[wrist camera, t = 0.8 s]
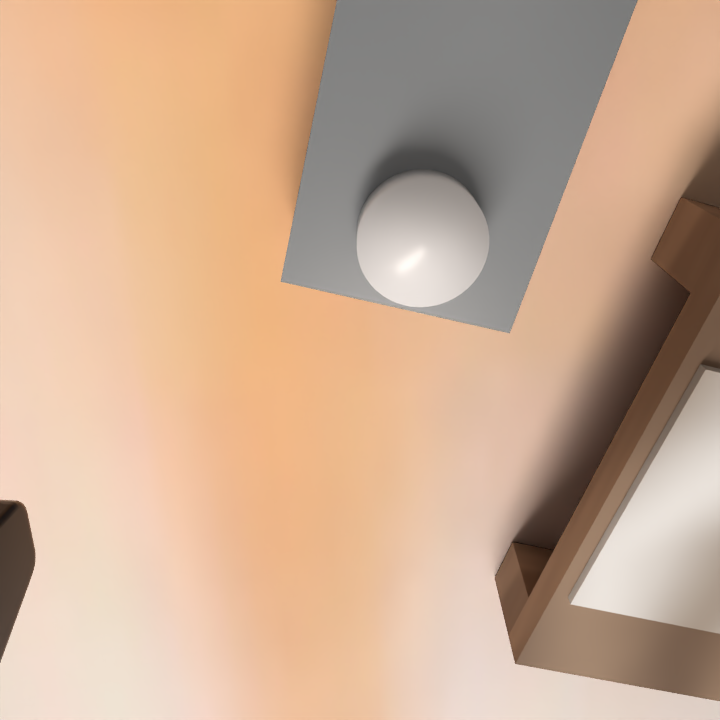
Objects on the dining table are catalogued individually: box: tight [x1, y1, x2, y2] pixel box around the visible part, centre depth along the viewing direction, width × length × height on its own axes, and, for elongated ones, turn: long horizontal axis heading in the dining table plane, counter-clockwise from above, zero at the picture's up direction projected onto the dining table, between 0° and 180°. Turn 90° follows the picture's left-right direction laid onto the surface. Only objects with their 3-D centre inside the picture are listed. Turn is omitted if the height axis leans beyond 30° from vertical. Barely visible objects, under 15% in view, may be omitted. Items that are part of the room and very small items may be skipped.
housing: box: [281, 0, 637, 333], centre depth 17 cm, size 6×8×6 cm
